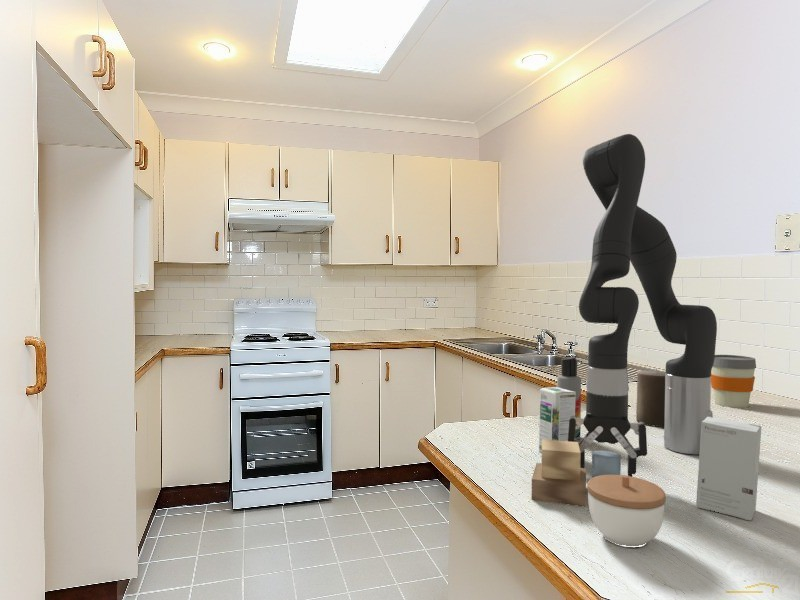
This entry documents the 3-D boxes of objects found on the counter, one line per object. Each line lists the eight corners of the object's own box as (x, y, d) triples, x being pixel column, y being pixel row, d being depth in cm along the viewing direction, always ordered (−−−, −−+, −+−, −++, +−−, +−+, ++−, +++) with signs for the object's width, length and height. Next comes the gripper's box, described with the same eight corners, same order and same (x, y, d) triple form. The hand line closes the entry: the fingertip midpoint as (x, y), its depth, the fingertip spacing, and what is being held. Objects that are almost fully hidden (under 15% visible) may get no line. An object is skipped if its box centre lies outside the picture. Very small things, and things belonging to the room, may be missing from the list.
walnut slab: (585, 489, 98) (586, 468, 98) (585, 508, 89) (585, 485, 89) (536, 483, 101) (536, 462, 101) (531, 501, 92) (531, 479, 92)
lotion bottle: (581, 441, 126) (583, 359, 126) (557, 439, 128) (558, 358, 127) (578, 434, 132) (579, 355, 131) (555, 433, 133) (556, 355, 132)
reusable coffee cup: (754, 403, 167) (755, 356, 167) (756, 411, 157) (757, 361, 156) (709, 398, 174) (709, 353, 174) (707, 405, 163) (708, 358, 163)
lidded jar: (585, 548, 75) (586, 484, 75) (587, 517, 85) (588, 460, 85) (669, 562, 72) (670, 495, 71) (660, 528, 82) (661, 469, 81)
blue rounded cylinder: (619, 477, 103) (620, 452, 103) (621, 486, 98) (621, 460, 98) (591, 473, 105) (591, 449, 105) (591, 483, 100) (592, 457, 100)
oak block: (577, 468, 98) (577, 442, 97) (580, 481, 91) (580, 452, 91) (541, 465, 99) (541, 439, 99) (541, 477, 93) (541, 449, 93)
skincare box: (695, 508, 89) (697, 421, 89) (703, 497, 94) (704, 414, 93) (755, 522, 84) (757, 430, 83) (759, 510, 88) (761, 422, 88)
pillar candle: (666, 429, 137) (668, 372, 137) (629, 421, 144) (631, 367, 144) (681, 423, 143) (682, 368, 143) (645, 416, 151) (646, 364, 150)
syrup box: (537, 451, 119) (538, 388, 118) (558, 448, 121) (559, 386, 121) (554, 459, 114) (555, 392, 113) (575, 455, 116) (576, 390, 115)
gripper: (645, 389, 102) (644, 471, 103) (569, 384, 107) (568, 462, 108) (649, 396, 95) (648, 484, 96) (567, 391, 100) (566, 475, 101)
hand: (605, 472), depth 102 cm, fingers open, 8 cm apart
